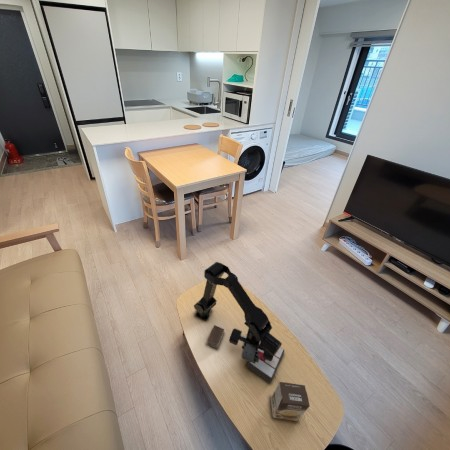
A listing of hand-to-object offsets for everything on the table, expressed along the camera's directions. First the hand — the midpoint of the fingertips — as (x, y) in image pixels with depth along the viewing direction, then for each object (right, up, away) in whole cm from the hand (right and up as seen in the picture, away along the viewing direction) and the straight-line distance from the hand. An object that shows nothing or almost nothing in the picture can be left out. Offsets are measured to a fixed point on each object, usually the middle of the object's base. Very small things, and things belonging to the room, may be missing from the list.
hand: (249, 353), depth 104 cm
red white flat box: (+7, -3, -1) cm, 8 cm away
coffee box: (+10, -13, -15) cm, 23 cm away
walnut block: (-15, +3, +6) cm, 16 cm away
